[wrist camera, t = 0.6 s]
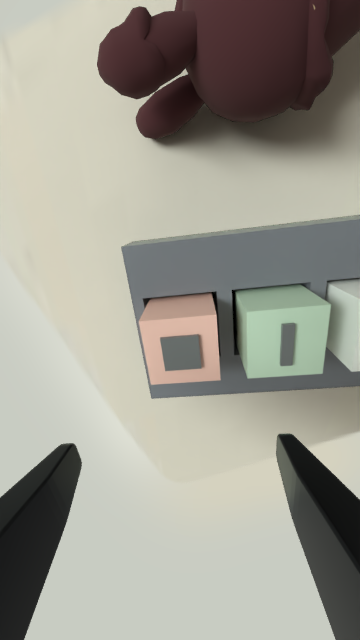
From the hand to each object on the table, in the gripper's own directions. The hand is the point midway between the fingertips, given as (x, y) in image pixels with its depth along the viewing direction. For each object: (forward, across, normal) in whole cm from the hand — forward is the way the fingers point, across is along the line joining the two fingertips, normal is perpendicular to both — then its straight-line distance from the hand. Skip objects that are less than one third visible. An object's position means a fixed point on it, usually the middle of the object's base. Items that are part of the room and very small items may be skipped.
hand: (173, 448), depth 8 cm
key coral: (+10, 0, 0) cm, 10 cm away
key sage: (+10, -5, 0) cm, 11 cm away
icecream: (+12, -5, -14) cm, 19 cm away
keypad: (+12, -5, 0) cm, 13 cm away
